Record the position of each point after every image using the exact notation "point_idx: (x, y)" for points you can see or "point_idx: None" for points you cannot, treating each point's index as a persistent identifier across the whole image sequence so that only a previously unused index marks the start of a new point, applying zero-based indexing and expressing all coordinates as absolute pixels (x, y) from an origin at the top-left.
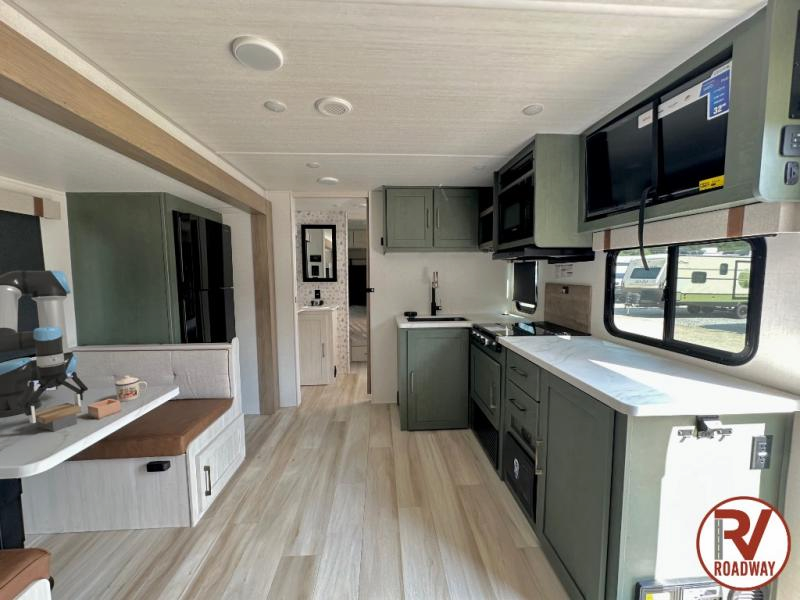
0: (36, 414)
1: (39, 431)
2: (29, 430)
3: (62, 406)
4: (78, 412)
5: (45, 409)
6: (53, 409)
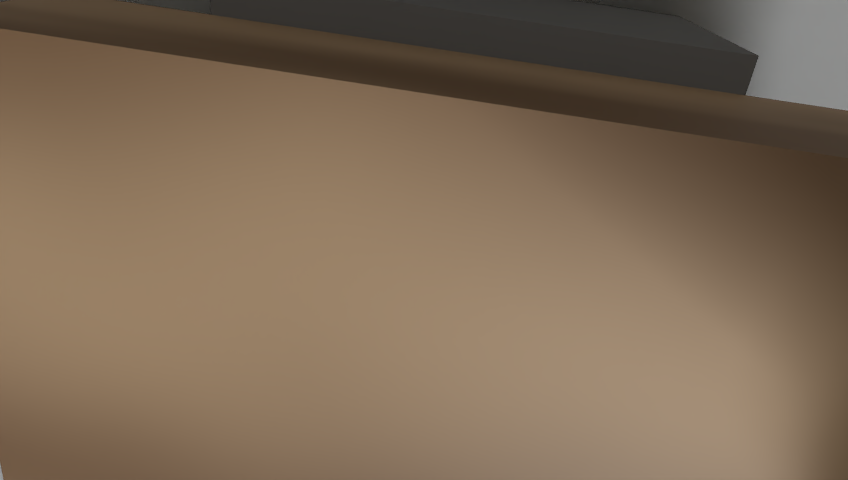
0: (8, 344)
1: None
2: (138, 3)
3: (661, 411)
4: None
5: (330, 130)
6: (406, 403)
